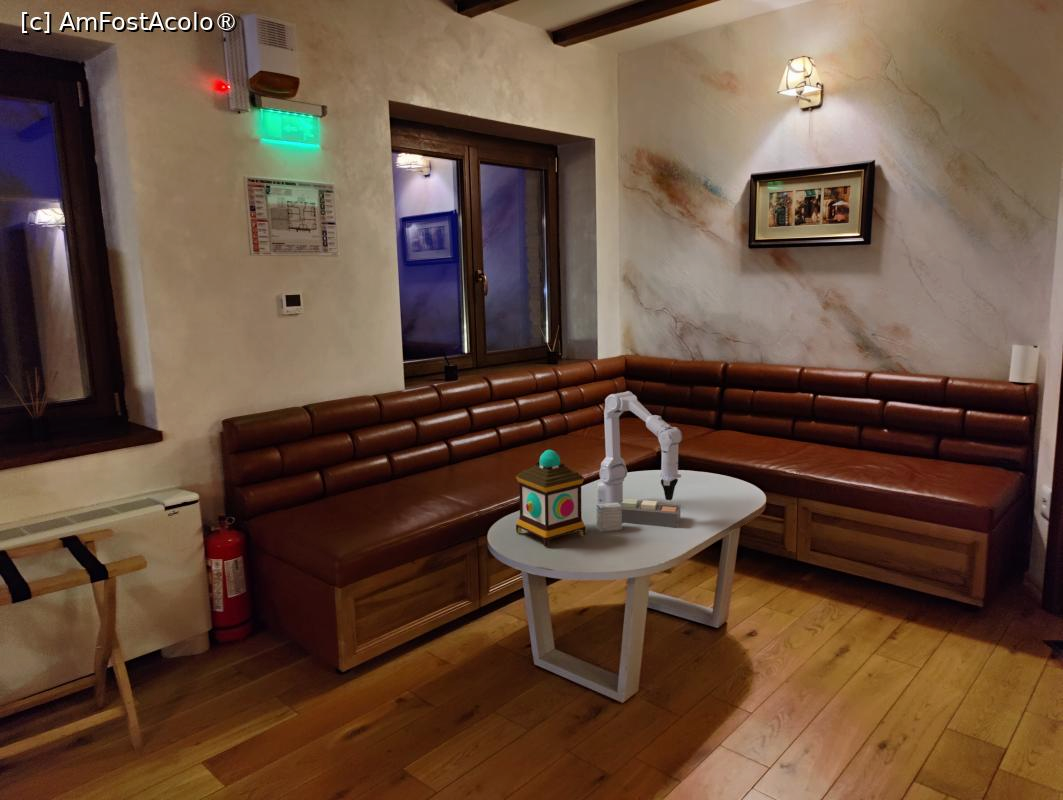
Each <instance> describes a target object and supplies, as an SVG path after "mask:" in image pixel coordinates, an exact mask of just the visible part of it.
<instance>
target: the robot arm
mask: <svg viewBox="0 0 1063 800" xmlns="http://www.w3.org/2000/svg"><path fill="white" fill-rule="evenodd" d="M604 403H605V404H604V406H605V407H604V410H603V415H604V416H603V418H604V419H603V420H604V442H605V443H604V444H605V445H604V447H605V458H604V459H603V460H602V461H601V463H600V469H599V478H600V480H599V481H598V484H597V504H605V503H619V504H621V502H622V501H623V500H624V497H623V495H624V494H623V493H624V492H623V491H624V489H623V488H624V484H623V483H624V481H625V478H626V477H627V475H628V469H627V467H626V460H625V459H624V458H623V457H621V438H620V437H621V435H620V433H621V432H620V417H621V415H622V414H623V413H624V412H627V411H629V412H631V413H633V414H634V415H635V416H637V417H638V418H639V419H640V420H642V421H643V422H645V427H646V428H647V429H648V430H649V431H650V432H652V434H654V436H656V437H657V439H658V443H659V444H660V449H661V467H660V468H661V469H660V470H661V471H660V478H661V480H660V484H661V486H662V489H663V493H664V497H665V498H664V499H665V501H672V500H673V496H674V493H675V489H676V486H677V484H678V481H679V479H681V477H682V474H679V443H681V441H682V440H683V435H682V431H681V430H680V429H679V427H675V426H671V424H669V423H667V422H666V421H665V420H664V419H663V418H662V416H660V415H657V414H654V415H653V414H652V413H650V411H648V409H647V408H645V406H644V405H643V404H642V403H641V402H640V401H638V397H637V395H635V394H633V393H632V392H631V391H629V390H627V391H625V392H624V391H623V392H617V393H611V394H609V395H608V396H606V398H605V399H604Z"/></svg>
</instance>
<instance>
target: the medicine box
mask: <svg viewBox="0 0 1063 800" xmlns="http://www.w3.org/2000/svg"><path fill="white" fill-rule="evenodd" d="M622 526H623V525H622V506H621V505H620V504H619V503H605V504H598V503H597V504H596V528H597V529H598V531H599V532H607V531H617V530H623V527H622Z"/></svg>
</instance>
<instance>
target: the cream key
mask: <svg viewBox="0 0 1063 800" xmlns="http://www.w3.org/2000/svg"><path fill="white" fill-rule="evenodd" d="M641 502H642V504H641V509H648V510H656V509H657V503H658V501H657V500H647V499H646V500H645V499H643V500H642V501H641Z"/></svg>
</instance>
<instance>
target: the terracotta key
mask: <svg viewBox="0 0 1063 800" xmlns="http://www.w3.org/2000/svg"><path fill="white" fill-rule="evenodd" d="M661 511H672V512H676V511H677V507H667V506H663V507H662V509H661Z"/></svg>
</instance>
